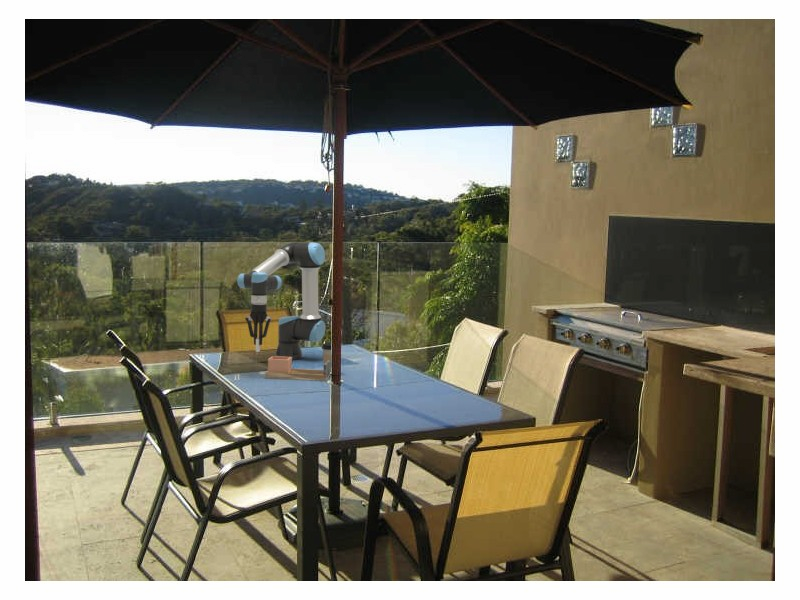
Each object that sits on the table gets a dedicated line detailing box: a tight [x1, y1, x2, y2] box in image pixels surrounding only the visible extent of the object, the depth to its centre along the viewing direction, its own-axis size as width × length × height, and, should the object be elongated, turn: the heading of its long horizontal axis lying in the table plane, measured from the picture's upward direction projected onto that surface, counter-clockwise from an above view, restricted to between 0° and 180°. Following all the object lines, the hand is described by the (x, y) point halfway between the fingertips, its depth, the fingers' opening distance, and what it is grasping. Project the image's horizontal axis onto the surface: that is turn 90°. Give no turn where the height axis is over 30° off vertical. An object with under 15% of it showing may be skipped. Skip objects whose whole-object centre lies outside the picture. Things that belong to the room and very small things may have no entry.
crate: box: [267, 355, 293, 373], centre depth 407 cm, size 9×10×8 cm
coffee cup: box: [321, 342, 332, 372], centre depth 418 cm, size 9×9×15 cm
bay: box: [264, 360, 331, 382], centre depth 406 cm, size 12×30×8 cm, turn 85°
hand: (257, 351), depth 407 cm, fingers closed
